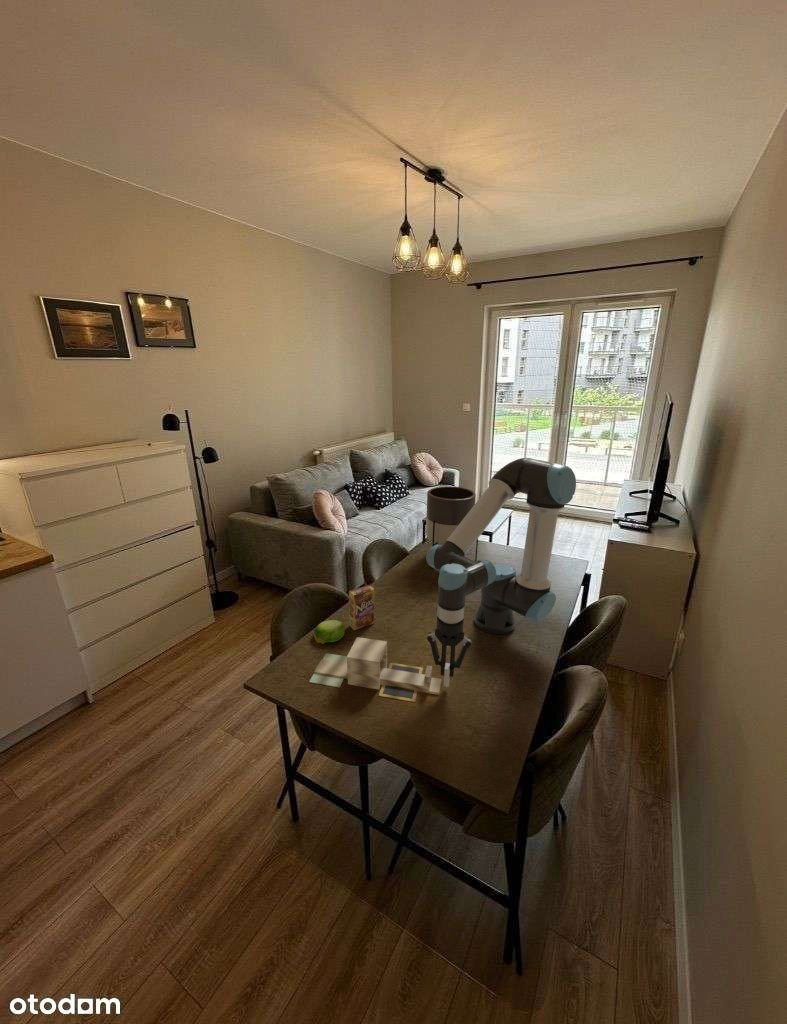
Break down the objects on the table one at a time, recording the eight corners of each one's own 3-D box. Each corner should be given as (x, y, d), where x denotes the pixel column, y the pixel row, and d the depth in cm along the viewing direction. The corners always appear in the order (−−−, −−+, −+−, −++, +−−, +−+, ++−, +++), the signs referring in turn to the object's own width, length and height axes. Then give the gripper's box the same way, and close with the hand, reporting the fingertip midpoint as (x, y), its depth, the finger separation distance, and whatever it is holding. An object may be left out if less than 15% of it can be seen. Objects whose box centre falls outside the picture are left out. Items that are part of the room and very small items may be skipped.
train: (431, 677, 131) (432, 658, 128) (429, 690, 125) (429, 671, 123) (358, 665, 136) (358, 647, 133) (352, 677, 130) (352, 659, 128)
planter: (460, 576, 195) (464, 505, 183) (414, 563, 208) (415, 495, 196) (481, 556, 216) (486, 491, 204) (438, 545, 228) (440, 483, 217)
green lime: (331, 649, 145) (331, 637, 143) (308, 639, 150) (307, 627, 149) (351, 632, 154) (351, 621, 153) (328, 623, 160) (328, 612, 158)
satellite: (443, 671, 134) (444, 644, 131) (437, 706, 121) (438, 677, 117) (326, 652, 143) (325, 627, 139) (308, 683, 129) (306, 656, 126)
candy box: (354, 631, 154) (353, 595, 149) (349, 625, 158) (347, 590, 153) (375, 623, 159) (374, 588, 154) (369, 618, 162) (368, 583, 157)
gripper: (474, 612, 121) (469, 678, 128) (429, 606, 123) (427, 671, 131) (472, 627, 114) (467, 696, 122) (425, 621, 116) (423, 688, 124)
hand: (446, 683), depth 126 cm, fingers closed
